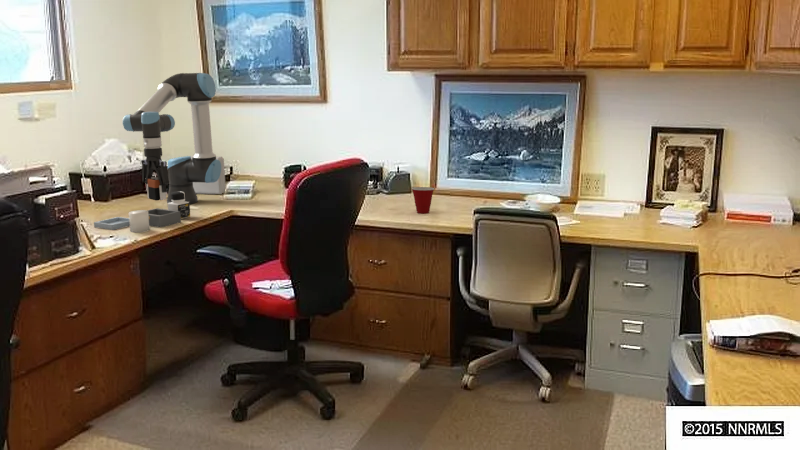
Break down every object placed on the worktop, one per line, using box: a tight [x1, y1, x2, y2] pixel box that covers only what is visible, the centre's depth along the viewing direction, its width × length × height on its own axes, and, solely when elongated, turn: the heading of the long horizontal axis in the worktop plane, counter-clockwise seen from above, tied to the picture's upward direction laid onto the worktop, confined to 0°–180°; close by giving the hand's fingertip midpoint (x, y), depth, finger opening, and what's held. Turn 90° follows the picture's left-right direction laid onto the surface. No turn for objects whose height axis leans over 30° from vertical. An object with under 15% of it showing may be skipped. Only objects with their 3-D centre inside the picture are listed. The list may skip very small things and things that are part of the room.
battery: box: [148, 176, 161, 201], centre depth 336 cm, size 4×7×10 cm, turn 46°
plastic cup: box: [411, 186, 435, 215], centre depth 354 cm, size 11×11×12 cm
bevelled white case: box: [190, 155, 227, 195], centre depth 409 cm, size 21×8×20 cm, turn 77°
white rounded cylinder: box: [128, 209, 151, 233], centre depth 325 cm, size 8×8×8 cm
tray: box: [93, 216, 130, 231], centre depth 335 cm, size 13×12×2 cm
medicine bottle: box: [167, 191, 191, 220], centre depth 349 cm, size 7×7×12 cm
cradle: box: [146, 207, 182, 228], centre depth 338 cm, size 12×15×5 cm
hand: (156, 198), depth 337 cm, fingers closed on battery, 7 cm apart
